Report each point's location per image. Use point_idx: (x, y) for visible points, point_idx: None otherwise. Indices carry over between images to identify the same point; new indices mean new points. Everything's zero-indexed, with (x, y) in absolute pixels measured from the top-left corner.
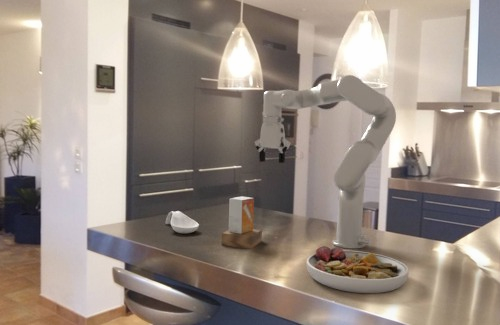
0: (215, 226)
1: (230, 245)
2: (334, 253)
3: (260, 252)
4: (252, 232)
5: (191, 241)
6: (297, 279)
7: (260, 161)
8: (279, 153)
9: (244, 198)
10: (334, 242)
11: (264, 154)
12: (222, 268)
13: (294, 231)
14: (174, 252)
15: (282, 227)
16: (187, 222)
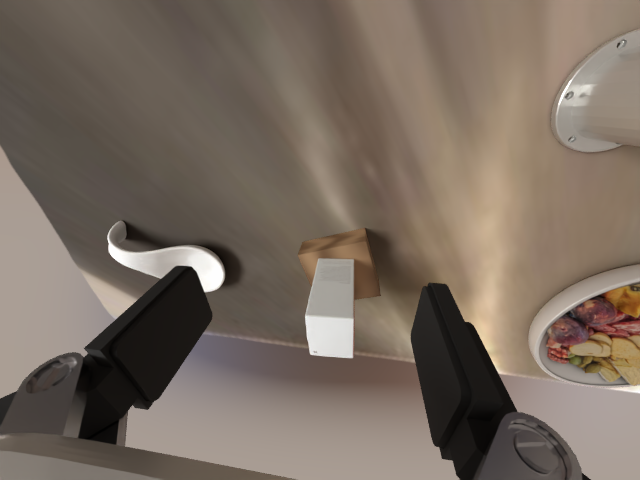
0: (188, 180)
1: None
2: (592, 325)
3: (405, 288)
4: (362, 270)
5: (269, 298)
6: (512, 353)
7: (208, 317)
8: (445, 453)
9: (341, 340)
10: (565, 140)
11: (146, 335)
12: (399, 360)
13: (380, 52)
14: (302, 344)
15: (313, 22)
16: (176, 251)
